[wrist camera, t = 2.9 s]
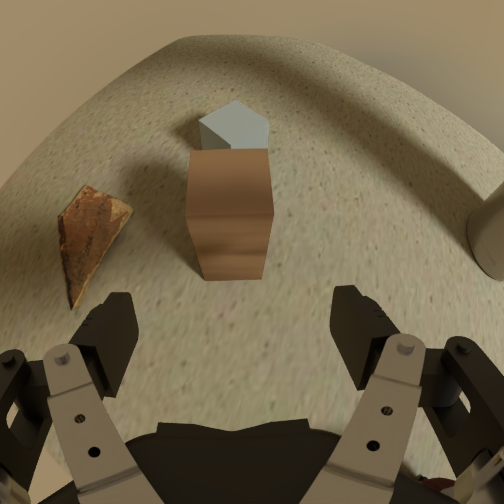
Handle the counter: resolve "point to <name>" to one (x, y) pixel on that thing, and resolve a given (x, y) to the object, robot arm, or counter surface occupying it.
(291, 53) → the counter surface
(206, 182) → the walnut block
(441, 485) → the mate gourd
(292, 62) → the counter surface
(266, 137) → the grey-blue block
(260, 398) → the counter surface
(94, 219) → the shard
